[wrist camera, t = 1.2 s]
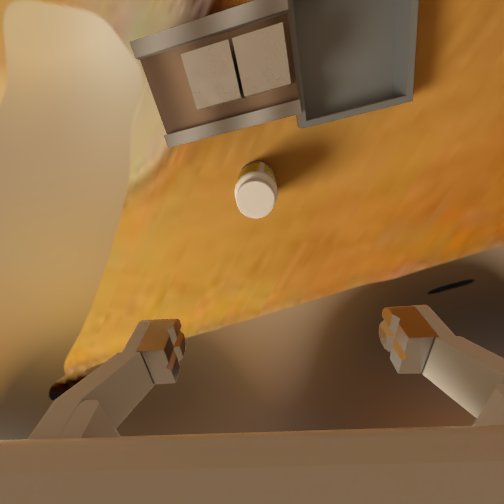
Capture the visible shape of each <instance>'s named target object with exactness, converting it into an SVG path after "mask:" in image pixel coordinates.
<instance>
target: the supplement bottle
mask: <svg viewBox="0 0 504 504" xmlns="http://www.w3.org/2000/svg"><path fill="white" fill-rule="evenodd" d="M234 193H235V199H236V203H237V206H238V208H239V210H240V211H241V213H242V214H244V215H245V216H247V217H249V218H256V219H257V218H262V217H264V216H266V215H268V214H269V213H270V212H271V210H272V209H273V207H274V204H275V202H276V199H277V195H278V190H277V184H276V179H275V174H274V172H273V170H272V169H271V167H270V166H269V165H267V164H266V163H263V162H259V161H255V162H250V163H248V164H247V165H245V166H244V167H243V168H242V170H241V172H240V174H239V177H238V180H237V183H236V186H235V191H234Z"/></svg>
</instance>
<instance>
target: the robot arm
mask: <svg viewBox="0 0 504 504" xmlns="http://www.w3.org/2000/svg"><path fill="white" fill-rule="evenodd" d="M382 317H383V318H384V321H383V322H382V323H381V324H380V327H379V336H380V339H381V343H382V344H383V347H384V348H385V349H386V350H388V351H390V352H391V355H390V359H391V361H392V363H393V365H394V367H395V368H396V370H397V372H398V373H399V374H403V373H404V374H405V373H423V375H424V376H425V377H426V378H428V379H429V380H430V381H431V382H432V383H434V384H435V385H436V386H437V387H439V388H440V389H441V390H442V391H444V392H445V393H446V394H447V395H449V396H450V397H451V398H452V399H454V400H455V401H456V402H457V403H458V404H460V405H461V406H462V407H463V408H465V409H466V410H467V411H468V412H470V413H471V414H472V415H473V416H475V417H476V418H477V419H476V421H475V423H474V424H473V426H449V427H417V428H388V429H387V428H386V429H357V430H356V429H354V430H324V431H323V430H322V431H292V432H291V431H290V432H289V431H288V432H256V433H227V434H226V433H224V434H192V435H158V436H125V437H121V436H120V435H119V433H118V432H117V430H116V428H117V427H118V426H119V425H120V424H121V422H122V421H123V420H124V419H125V418H126V417H127V416H128V415H129V413H130V412H131V411H132V410H133V409H134V408H135V407H136V405H137V404H138V403H139V402H140V401H141V400H142V399H143V397H144V396H145V395H146V394H147V393H148V392H149V391H150V390H151V388H152V387H153V386H154V384H166V383H176V380H177V376H178V373H179V370H180V365H179V361H180V360H181V359H182V358H183V356H184V353H185V345H186V343H185V337H184V334H183V333H182V332H181V331H180V329H181V323H180V320H178V319H159V320H142V321H140V322H139V323H138V325H137V327H136V328H135V330H134V332H133V334H132V336H131V337H130V339H129V341H128V343H127V344H126V346H125V348H124V350H123V352H122V353H117V354H116V355H115V356H113V357H112V358H111V359H109V360H108V361H107V362H105V363H104V364H102V365H101V366H100V367H98V368H97V369H96V370H95V371H93V372H92V373H90V374H89V375H88V376H86V377H85V378H84V379H82V380H81V381H80V382H78V383H77V384H76V385H74V386H73V387H72V388H70V389H69V390H68V391H66V392H65V393H64V394H62V395H61V396H60V397H58V398H57V399H55V401H54V402H53V403H52V405H51V406H50V408H49V409H48V410H47V412H46V413H45V415H44V417H43V418H42V419H41V420H40V422H39V423H38V425H37V426H36V428H35V429H34V431H33V432H32V433H31V435H30V436H29V438H28V439H27V440H26V439H24V440H0V504H504V358H502V357H500V356H498V355H496V354H494V353H492V352H490V351H488V350H486V349H484V348H482V347H480V346H478V345H476V344H474V343H472V342H470V341H469V340H467V339H465V338H463V337H461V336H458V337H457V336H455V335H454V334H453V333H452V332H451V330H450V329H449V328H448V327H447V326H446V325H445V324H444V323H443V322H442V321H441V319H440V318H439V317H438V316H437V315H436V314H435V313H434V312H433V311H432V309H431V308H430V307H429V306H427V305H415V306H402V307H386V308H384V310H383V312H382Z"/></svg>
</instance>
